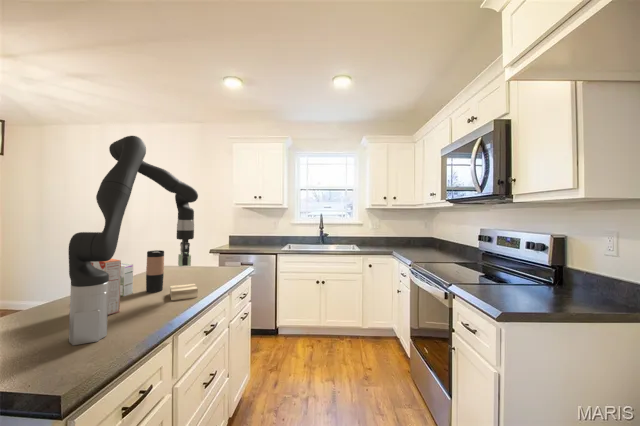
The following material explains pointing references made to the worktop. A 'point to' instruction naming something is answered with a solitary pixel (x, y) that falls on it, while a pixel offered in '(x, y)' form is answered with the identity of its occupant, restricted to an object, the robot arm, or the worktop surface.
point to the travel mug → (154, 271)
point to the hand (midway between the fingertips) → (184, 264)
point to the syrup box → (126, 279)
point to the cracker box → (111, 282)
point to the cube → (182, 259)
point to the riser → (183, 291)
